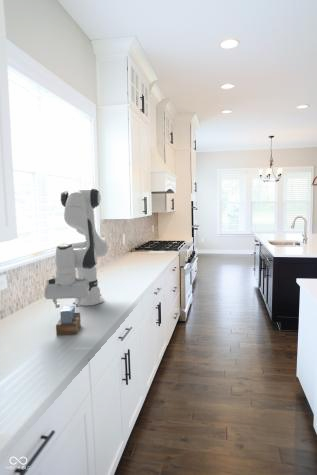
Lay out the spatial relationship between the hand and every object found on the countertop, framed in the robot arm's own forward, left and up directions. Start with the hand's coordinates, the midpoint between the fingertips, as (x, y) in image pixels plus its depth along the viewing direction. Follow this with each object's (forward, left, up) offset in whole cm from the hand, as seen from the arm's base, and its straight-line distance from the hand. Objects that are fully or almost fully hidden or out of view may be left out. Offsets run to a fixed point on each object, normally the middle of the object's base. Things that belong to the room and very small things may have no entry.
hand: (67, 307), depth 158 cm
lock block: (0, 0, -7) cm, 7 cm away
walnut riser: (-1, 0, -12) cm, 12 cm away
